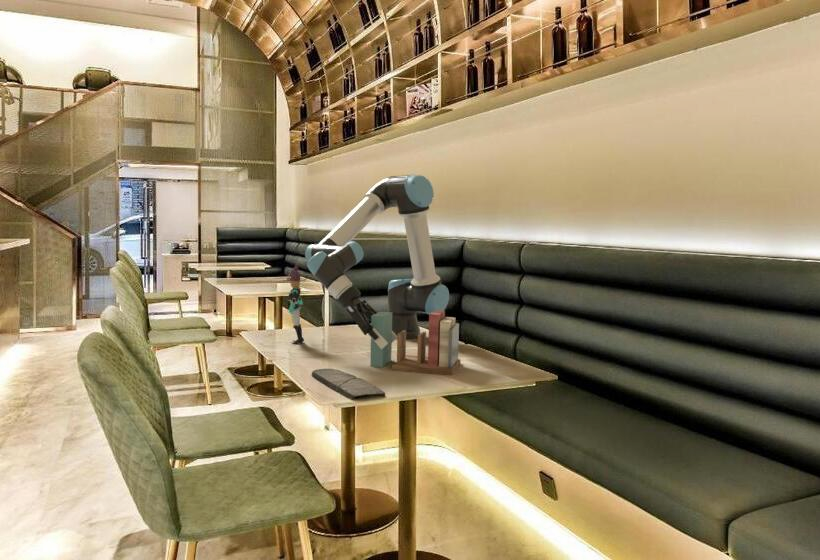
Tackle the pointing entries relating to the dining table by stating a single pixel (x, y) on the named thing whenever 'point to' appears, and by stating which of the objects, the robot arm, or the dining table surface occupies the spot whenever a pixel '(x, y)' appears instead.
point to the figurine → (295, 302)
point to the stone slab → (345, 383)
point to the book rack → (432, 347)
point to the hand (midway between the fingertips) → (390, 343)
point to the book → (384, 327)
